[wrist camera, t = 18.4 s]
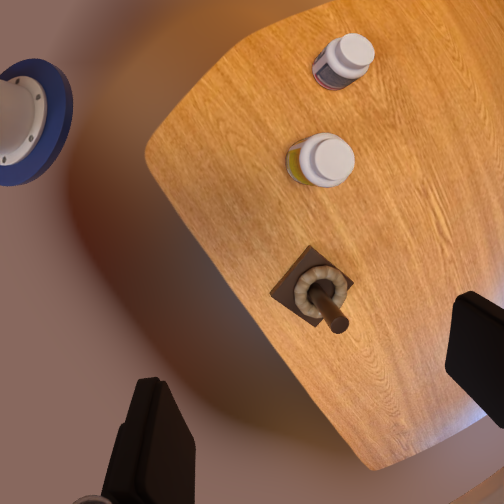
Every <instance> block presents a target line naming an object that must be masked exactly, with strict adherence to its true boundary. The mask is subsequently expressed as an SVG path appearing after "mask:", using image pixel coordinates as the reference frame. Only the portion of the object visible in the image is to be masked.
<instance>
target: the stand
mask: <svg viewBox="0 0 504 504" xmlns="http://www.w3.org/2000/svg"><path fill="white" fill-rule="evenodd" d="M325 265H327V266H330V267H332V268H335V269H337V268H336V267H335V266H334V265H332V264H331V263H330V262H329V261H328V260H326V259H325V258H324V257H323V256H322V255H320V254H319V253H318V252H317V251H316V250H314V249H313V248H312V247H311V246H308V247H307V249H306V250H305V251H304V252H303V254H302V255H301V256H300V257H299V258H298V260H297V261H296V262H295V263H294V265H293V266H292V267H291V268H290V269H289V271H288V272H287V273H286V274H285V275H284V277H283V278H282V279H281V280H280V281H279V283H278V284H277V285H276V286H275V287H274V289H273V290H272V291H271V292H270V295H271V297H272V298H274V299H275V300H277V301H278V302H279V303H281V304H282V305H284V306H285V307H287V308H288V309H289V310H291V311H292V312H294V313H295V314H297V315H298V316H299V317H301V318H302V319H304V320H305V321H307V322H308V323H309V324H311V325H312V326H314V327H316V326H317V325H318V324H319V323H320V322H321V321H322V320H323V319H324V320H325V321H326V323H327V324H328V326H329V328H330V329H331V331H332V332H333V333H336V334H340V333H343V332H344V331H346V329H347V328H348V326H349V321H348V319H347V318H346V316H345V315H344V314H343V313H342V311H341V310H340V309H339V308H338V306H337V305H336V304H335V303H334V302H333V300H332V298H333V296H334V294H335V285H334V284H333V283H332V281H330V280H328V279H318V280H316V281H315V282H314V283H312V284H311V285H310V287H309V289H308V291H307V299H308V300H309V302H310V303H311V304H313V305H315V306H316V308H317V309H318V311H319V312H320V314H321V315H322V318H313V317H310V316H307V315H304V314H303V313H302V312H301V311H300V309H299V308H298V307H297V305H296V304H295V295H294V289H295V287H296V284H297V282H298V280H299V278H300V277H301V276H302V275H303V274H304V273H306V272H307V271H308V270H310V269H311V268H313V267H318V266H325ZM337 270H338V269H337ZM339 271H340V270H339ZM340 272H341V271H340ZM341 273H342V272H341ZM342 275H343V277H344V278H345V280H346V281H347V291H348V290H349V288H350V287H351V286H352V285H353V284H354V282H353V281H351V280H350V279H349V278H348V277H347V276H346V275H344V274H343V273H342Z"/></svg>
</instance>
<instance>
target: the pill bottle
mask: <svg viewBox="0 0 504 504" xmlns="http://www.w3.org/2000/svg"><path fill="white" fill-rule="evenodd" d="M374 55H375V53H374V48H373V46H372V44H371V43H370V42H369V41H368V40H367V39H366V38H365V37H363V36H362V35H359V34H356V33H349V34H346V35H344V36H343V37H342V38H337V39H334V40H333V41H331V42H330V43H329V44H328V45H327V46H326V47H325V48H324V49H323V51H322V52H321V53H320V54H319V55H318V57H317V58H316V59H315V61H314V63H313V66H312V71H313V75H314V77H315V79H316V81H317V82H318V83H319V84H320V85H321V86H323V87H325V88H327V89H330V90H340V89H343V88H345V87H346V86H348V85H349V84H351V83H352V82H354V81H355V80H357V79H358V78H360V77H362V76H363V75H364V74H365V73H366V72H367V70H368V68H369V64H370V63H371V62H372V61H373V59H374Z"/></svg>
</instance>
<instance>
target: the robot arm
mask: <svg viewBox="0 0 504 504" xmlns="http://www.w3.org/2000/svg"><path fill="white" fill-rule="evenodd" d="M46 117H47V97H46V94H45V91H44V89H43V87H42V85H41V84H40V83H39V82H38V81H37V80H35V79H33V78H30V77H27V76H19V77H15V78H13V79H11V80H9V81H4V80H1V79H0V165H4V166H7V165H13V164H16V163H18V162H20V161H22V160H23V159H24V158H26V157H27V156H28V155H29V154H30V153H31V151H32V150H33V149H34V148H35V146H36V144H37V143H38V141H39V139H40V137H41V134H42V132H43V129H44V126H45V123H46ZM445 369H446V372H447V373H448V375H449V376H450V377H451V378H452V379H453V380H454V381H455V382H456V383H457V384H458V385H459V386H460V387H461V388H462V389H463V390H464V391H465V392H466V393H467V394H468V395H469V396H470V397H471V398H472V399H473V400H474V401H475V402H476V403H477V404H478V405H479V406H480V407H481V408H482V409H483V410H484V411H485V412H486V414H487V415H488V416H489V417H490V418H491V419H492V420H493V421H494V422H495V423H496V424H497V425H498V426H499V427H500V428H503V429H504V309H502V308H501V307H499V306H497V305H496V304H494V303H492V302H491V301H489V300H487V299H486V298H484V297H482V296H481V295H479V294H477V293H475V292H473V291H468V292H466V293H464V294H461V295H459V296H458V297H457V298H456V300H455V302H454V304H453V310H452V320H451V328H450V336H449V343H448V349H447V355H446V361H445ZM195 447H196V446H195V441H194V438H193V436H192V434H191V432H190V431H189V429H188V427H187V425H186V423H185V421H184V419H183V417H182V415H181V413H180V411H179V409H178V406H177V404H176V402H175V400H174V398H173V396H172V393H171V391H170V389H169V387H168V385H167V383H166V382H165V381H160V380H159V378H158V377H152V378H144V379H139V380H138V382H137V384H136V387H135V391H134V394H133V397H132V400H131V404H130V407H129V410H128V414H127V417H126V420H125V423H123V424H121V426H120V428H119V430H118V434H117V437H116V441H115V444H114V447H113V451H112V455H111V458H110V462H109V465H108V469H107V473H106V476H105V481H104V484H103V488H102V492H101V496H97V495H88V496H84V497H82V498H79V499H78V500H76V501H75V502H74V503H73V504H195V453H196V448H195ZM449 504H504V467H502V468H501V469H500V470H498V471H497V472H496V473H494V474H493V475H492V476H490V477H489V478H488V479H486V480H485V481H483V482H482V483H480V484H479V485H477V486H476V487H474V488H473V489H471V490H470V491H468V492H467V493H465V494H464V495H462V496H461V497H459V498H457V499H456V500H454V501H452V502H451V503H449Z"/></svg>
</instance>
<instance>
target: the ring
mask: <svg viewBox="0 0 504 504" xmlns="http://www.w3.org/2000/svg"><path fill="white" fill-rule="evenodd" d="M318 279H328V280H330V281H332V283H333V284H334V285H335V294H334V296H333V298H332V300H333V302H334V303H335V304H336V305H337V306H338V308H339V309H340V308H341V306H342V305H343V303H344V301H345V299H346V297H347V281H346V280H345V278H344V277H343V275H342V273H341V272H340V271H339V270H337V269H335V268H332V267H330V266H327V265H325V266H318V267H313V268H311V269H310V270H308V271H307V272H306V273H304V274H303V275H302V276H301V277H300V278H299V280H298V282H297V284H296V287H295V289H294V295H295V304H296V305H297V307H298V308H299V309H300V311H301V312H302V313H303V314H304V315H307V316H310V317H313V318H322V315H321V314H320V312H319V311H318V309H317V308H316V306H315V305H313V304H311V303H310V302H309V300H308V299H307V291H308V289H309V287H310V285H311V284H312V283H314V282H315V281H316V280H318Z"/></svg>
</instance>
